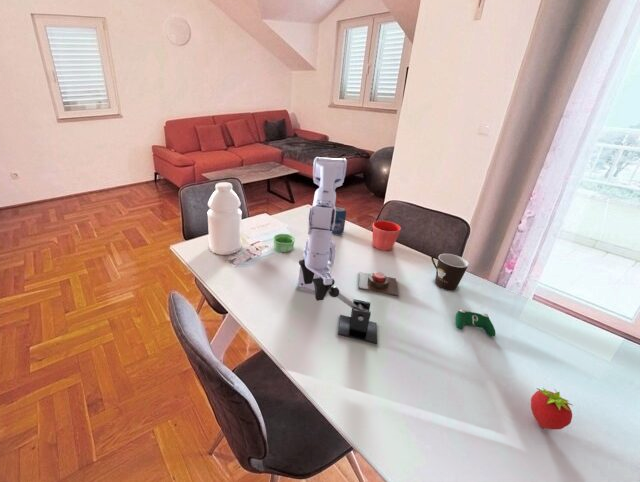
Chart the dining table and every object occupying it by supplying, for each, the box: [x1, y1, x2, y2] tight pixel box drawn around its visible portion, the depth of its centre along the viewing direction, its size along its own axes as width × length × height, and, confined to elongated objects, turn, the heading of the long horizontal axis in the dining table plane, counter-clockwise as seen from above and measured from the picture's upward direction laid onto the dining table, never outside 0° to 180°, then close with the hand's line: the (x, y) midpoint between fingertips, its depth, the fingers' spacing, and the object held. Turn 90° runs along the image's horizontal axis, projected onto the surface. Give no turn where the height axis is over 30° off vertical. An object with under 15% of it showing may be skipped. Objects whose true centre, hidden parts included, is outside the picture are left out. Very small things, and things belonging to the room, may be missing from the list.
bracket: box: [337, 298, 378, 345], centre depth 87 cm, size 10×8×9 cm
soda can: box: [331, 205, 347, 236], centre depth 144 cm, size 7×7×12 cm
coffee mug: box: [431, 253, 470, 292], centre depth 108 cm, size 12×9×10 cm
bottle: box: [206, 181, 243, 256], centre depth 128 cm, size 14×14×28 cm
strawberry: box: [530, 387, 573, 431], centre depth 62 cm, size 6×8×10 cm
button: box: [373, 271, 386, 282], centre depth 107 cm, size 4×4×2 cm
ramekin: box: [272, 233, 296, 253], centre depth 131 cm, size 9×9×4 cm
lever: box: [327, 285, 368, 311], centre depth 86 cm, size 12×3×3 cm
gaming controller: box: [455, 309, 496, 337], centre depth 89 cm, size 9×4×6 cm
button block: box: [358, 271, 399, 297], centre depth 107 cm, size 12×10×3 cm
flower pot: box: [372, 220, 402, 251], centre depth 132 cm, size 11×11×10 cm
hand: (313, 291), depth 89 cm, fingers open, 7 cm apart
